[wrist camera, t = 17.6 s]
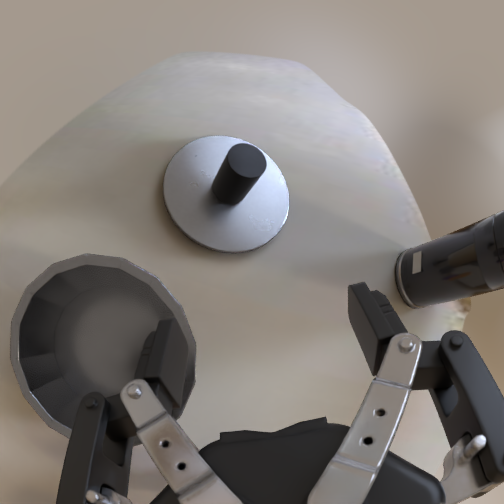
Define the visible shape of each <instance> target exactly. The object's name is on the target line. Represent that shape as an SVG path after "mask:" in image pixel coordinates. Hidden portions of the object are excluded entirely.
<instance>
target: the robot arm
mask: <svg viewBox="0 0 504 504" xmlns="http://www.w3.org/2000/svg"><path fill="white" fill-rule="evenodd" d="M396 281H397V286H398V289H399V292H400V294H401V296H402V298H403V299H404V301H405V302H406V303H407V304H408V305H409V306H411V307H413V308H423V307H426V306H430V305H435V304H440V303H445V302H450V301H454V300H459V299H463V298H467V297H472V296H476V295H480V294H484V293H488V292H492V291H495V290H499V289H503V288H504V210H502V211H500V212H498V213H496V214H494V215H492V216H489V217H487V218H485V219H482V220H480V221H478V222H476V223H474V224H471V225H469V226H466V227H464V228H462V229H459V230H457V231H454V232H453V233H450V234H447V235H445V236H443V237H440V238H437V239H435V240H432V241H430V242H427V243H425V244H422V245H419V246H417V247H414V248H410V249H407V250H405V251H403V252H402V253H401V254H400V256H399V258H398V260H397V264H396ZM348 314H349V320H350V323H351V325H352V328H353V330H354V332H355V335H356V337H357V339H358V342H359V344H360V346H361V349H362V351H363V353H364V356H365V358H366V361H367V363H368V365H369V368H370V370H371V373H372V375H373V376H376V375H377V376H376V378H375V379H373V381H372V383H371V385H370V387H369V389H368V391H367V394H366V396H365V398H364V400H363V402H362V404H361V407H360V409H359V411H358V413H357V415H356V417H355V419H354V421H353V423H352V425H351V427H349V426H346V425H341V424H335V423H327V419H326V417H322V418H318V419H313V420H308V421H303V422H299V423H296V424H294V425H292V426H289V427H287V428H284V429H282V430H279V431H276V432H272V433H270V432H258V431H248V430H243V431H233V432H221V433H220V440H217V441H215V442H212V443H210V444H208V445H207V446H205V447H204V448H202V449H201V450H199V449H198V448H197V447H196V446H195V444H194V443H193V442H192V441H191V439H190V438H189V437H188V436H187V434H186V433H185V432H184V431H183V429H182V428H181V427H180V425H179V424H178V423H177V421H176V420H175V419H174V417H173V416H172V415H171V414H172V408H181V402H182V394H183V387H184V380H185V373H186V366H187V359H188V352H189V349H188V343H187V340H186V338H185V336H184V334H183V332H182V330H181V327H180V325H179V323H178V321H177V319H176V318H169V319H162V320H159V322H158V325H157V329H156V331H152V332H151V333H150V334H149V335H148V337H147V338H146V339H145V342H144V346H143V349H142V352H141V356H140V359H139V362H138V366H137V369H136V372H135V376H134V379H133V380H131V381H129V382H128V383H126V384H125V385H124V386H123V388H122V389H121V392H120V393H119V394H116V395H113V396H110V397H107V398H105V397H104V396H103V395H102V394H101V393H99V392H91V393H89V394H87V395H86V396H84V397H83V399H82V400H81V402H80V404H79V408H78V411H77V414H76V418H75V421H74V425H73V429H72V432H71V436H70V440H69V444H68V448H67V452H66V456H65V460H64V465H63V469H62V474H61V479H60V484H59V489H58V495H57V500H56V504H132V502H131V501H130V500H129V499H128V498H127V494H128V483H129V474H130V465H131V456H132V448H133V441H134V436H137V435H138V437H139V439H140V440H141V442H142V444H143V446H144V447H145V449H146V450H147V452H148V454H149V455H150V457H151V459H152V460H153V462H154V463H155V465H156V466H157V468H158V469H159V471H160V472H161V474H162V475H163V477H164V478H165V480H166V481H167V483H168V485H167V486H166V487H165V488H164V489H163V490H162V491H161V492H160V494H159V495H158V496H157V497H156V498H155V499H154V500H153V501H152V502H151V503H150V504H458V503H460V502H462V501H464V500H466V499H468V498H470V497H473V498H477V497H480V496H482V495H484V494H486V493H487V492H489V491H490V490H492V489H494V488H495V487H497V486H498V485H500V484H501V483H502V482H504V397H503V395H502V394H501V392H500V390H499V388H498V386H497V384H496V382H495V380H494V379H493V377H492V375H491V373H490V371H489V370H488V368H487V366H486V365H485V363H484V361H483V359H482V358H481V356H480V354H479V353H478V351H477V349H476V348H475V347H474V345H473V343H472V341H471V340H470V338H469V337H468V336H467V335H466V334H465V333H463V332H461V331H456V330H453V331H449V332H447V333H445V334H444V335H443V336H442V338H441V341H421V340H420V339H419V338H418V337H417V336H416V335H414V334H411V333H408V331H407V330H406V328H405V327H404V325H403V323H402V322H401V320H400V318H399V317H398V315H397V313H396V312H395V311H394V309H393V307H392V306H391V305H390V302H389V301H388V299H387V298H386V296H385V295H383V294H382V293H380V292H379V291H377V290H375V291H370V290H369V288H368V286H367V285H366V283H365V282H361V283H357V284H353V285H349V286H348ZM426 389H428V390H429V392H430V395H431V397H432V399H433V402H434V404H435V407H436V409H437V412H438V415H439V417H440V420H441V422H442V425H443V428H444V430H445V433H446V436H447V439H448V442H449V445H450V447H451V450H450V451H449V452H448V453H447V454H446V456H445V458H444V462H443V466H444V475H443V478H442V480H441V481H440V482H439V481H438V479H437V478H435V477H434V476H433V475H431V474H429V473H427V472H425V471H424V470H422V469H420V468H418V467H416V466H415V465H413V464H411V463H409V462H408V461H406V460H404V459H402V458H401V457H399V456H397V455H396V454H394V453H392V452H391V451H389V448H390V446H391V443H392V441H393V438H394V436H395V433H396V431H397V428H398V426H399V423H400V420H401V418H402V415H403V412H404V409H405V407H406V404H407V401H408V398H409V395H410V392H411V390H426Z"/></svg>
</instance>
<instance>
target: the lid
mask: <svg viewBox="0 0 504 504" xmlns="http://www.w3.org/2000/svg"><path fill="white" fill-rule="evenodd" d="M163 196H164V201H165V205H166V208H167V210H168V213H169V215H170V216H171V218H172V220H173V221H174V223H175V224H176V226H177V227H178V228H179V229H180V230H181V231H182V232H183V233H184V234H185V235H186V236H187V237H189V238H190V239H191V240H193V241H194V242H196V243H197V244H199V245H201V246H203V247H206V248H208V249H211V250H214V251H218V252H224V253H243V252H247V251H252V250H254V249H257V248H259V247H261V246H263V245H265V244H266V243H267V242H269V241H270V240H271V239H273V238H274V237H275V236H276V235H277V233H278V232H279V231H280V229H281V228H282V226H283V224H284V222H285V220H286V217H287V214H288V209H289V194H288V189H287V185H286V182H285V179H284V177H283V175H282V173H281V171H280V170H279V168H278V167H277V165H276V164H275V163H274V161H273V160H272V159H271V158H270V157H269V156H268V155H267V154H266V153H264V152H263V151H262V150H261V149H259V148H258V147H256V146H255V145H253V144H251V143H249V142H247V141H244V140H241V139H238V138H234V137H229V136H208V137H203V138H200V139H197V140H194V141H192V142H190V143H188V144H187V145H185V146H184V147H182V148H181V149H180V150H179V151H178V152H177V153H176V154H175V155H174V156H173V158H172V159H171V161H170V162H169V164H168V167H167V169H166V172H165V176H164V181H163Z"/></svg>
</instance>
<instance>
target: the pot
mask: <svg viewBox="0 0 504 504" xmlns="http://www.w3.org/2000/svg"><path fill="white" fill-rule="evenodd" d="M169 318H176V319H177V321H178V323H179V325H180V327H181V330H182V332H183V334H184V336H185V338H186V340H187V343H188V349H189V352H188V359H187V366H186V373H185V380H184V387H183V394H182V402H181V408H172V414H171V415H172V416H173V417H174V419H175V420H177V419H179V418H180V416H181V415H182V413H183V410H184V408H185V406H186V403H187V401H188V399H189V397H190V394H191V392H192V390H193V388H194V385H195V382H196V342H195V340H194V337H193V335H192V332H191V329H190V326H189V324H188V321H187V318H186V315H185V313H184V310H183V308H182V306H181V305H180V303H179V302H178V301H177V300H176V299H175V298H174V296H173V295H172V294H171V293H170V292H169V291H168V289H167V288H166V287H165V286H164V285H163V283H162V282H161V281H160V280H159V279H158V277H156V276H155V275H153V274H151V273H149V272H147V271H146V270H144V269H142V268H140V267H138V266H137V265H135V264H133V263H131V262H129V261H128V260H126V259H124V258H120V257H112V256H103V255H95V254H83V255H80V256H76V257H73V258H70V259H67V260H63V261H60V262H57V263H54V264H52V265H51V266H50V267H48V268H47V269H46V270H45V271H44V272H43V273H42V274H41V275H39V276H38V277H37V278H36V279H35V280H34V281H33V282H32V283H31V284H30V285H28V286H27V288H26V289H25V291H24V293H23V296H22V298H21V300H20V302H19V304H18V307H17V309H16V311H15V313H14V316H13V318H12V321H11V341H10V358H11V363H12V366H13V369H14V372H15V375H16V378H17V380H18V383H19V386H20V389H21V391H22V394H23V395H24V397H25V399H26V400H27V401H28V402H29V404H30V405H31V406H32V407H33V409H34V410H35V411H36V412H37V414H38V415H39V416H40V417H41V418H42V419H43V421H44V422H45V423H46V424H47V425H48V426H49V427H50V428H52V429H54V430H55V431H57V432H59V433H60V434H62V435H64V436H66V437H67V438H69V439H70V436H71V432H72V429H73V425H74V421H75V418H76V414H77V411H78V408H79V404H80V402H81V400H82V399H83V397H84V396H86V395H87V394H89V393H91V392H99V393H101V394H102V395H103V396H104V397H105V398H107V397H110V396H113V395H116V394H119V393H120V392H121V389H122V388H123V386H124V385H125V384H126V383H128V382H129V381H131V380H133V379H134V376H135V372H136V369H137V366H138V362H139V359H140V356H141V352H142V349H143V346H144V342H145V339H146V338H147V337H148V335H149V334H150V333H151V332H152V331H156V329H157V325H158V322H159V320H162V319H169ZM140 444H142V442H141V440H140V439H139V437H138V435H137V436H134V441H133V446H136V445H140Z"/></svg>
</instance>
